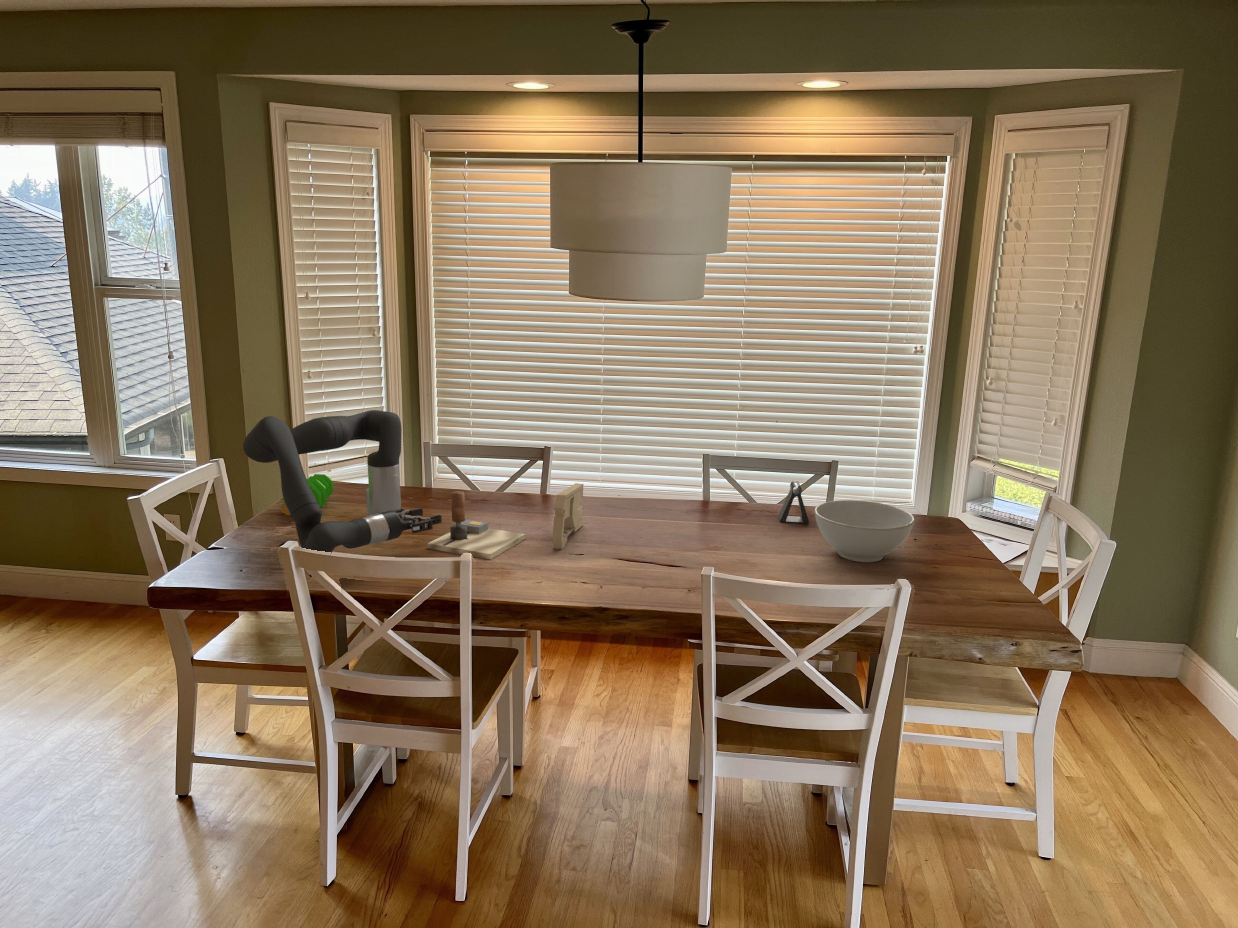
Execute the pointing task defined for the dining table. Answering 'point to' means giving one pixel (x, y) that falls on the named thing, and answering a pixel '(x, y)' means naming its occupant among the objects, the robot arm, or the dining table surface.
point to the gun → (567, 514)
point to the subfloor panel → (478, 543)
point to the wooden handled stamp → (458, 516)
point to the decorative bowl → (863, 528)
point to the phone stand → (787, 505)
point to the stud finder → (475, 526)
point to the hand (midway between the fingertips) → (431, 515)
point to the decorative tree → (316, 490)
